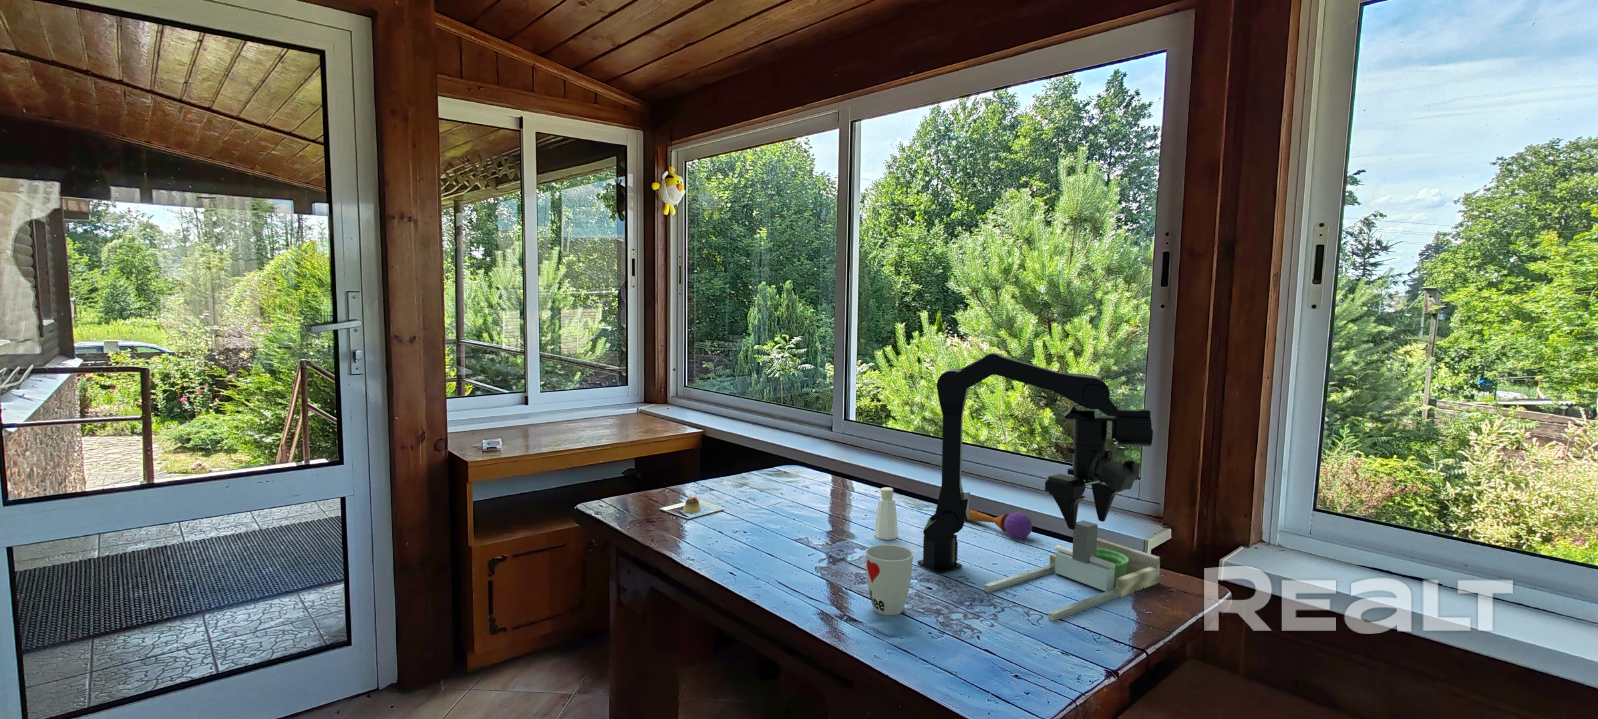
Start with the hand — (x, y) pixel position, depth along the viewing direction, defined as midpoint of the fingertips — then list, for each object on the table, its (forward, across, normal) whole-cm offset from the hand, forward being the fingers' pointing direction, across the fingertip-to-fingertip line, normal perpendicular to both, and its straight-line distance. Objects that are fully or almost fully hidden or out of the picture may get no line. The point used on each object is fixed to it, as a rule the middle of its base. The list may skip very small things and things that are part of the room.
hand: (1086, 525), depth 134 cm
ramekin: (+12, +5, 0) cm, 13 cm away
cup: (+11, -39, +11) cm, 42 cm away
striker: (+11, 0, 0) cm, 11 cm away
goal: (+11, -4, 0) cm, 12 cm away
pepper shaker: (+11, -14, +41) cm, 45 cm away
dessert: (+12, -43, +83) cm, 94 cm away
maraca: (+12, +11, +32) cm, 35 cm away
